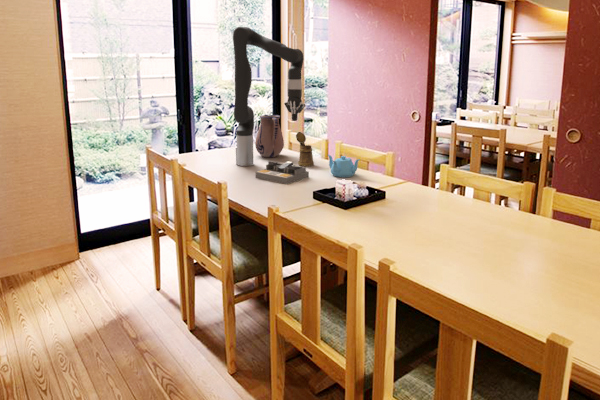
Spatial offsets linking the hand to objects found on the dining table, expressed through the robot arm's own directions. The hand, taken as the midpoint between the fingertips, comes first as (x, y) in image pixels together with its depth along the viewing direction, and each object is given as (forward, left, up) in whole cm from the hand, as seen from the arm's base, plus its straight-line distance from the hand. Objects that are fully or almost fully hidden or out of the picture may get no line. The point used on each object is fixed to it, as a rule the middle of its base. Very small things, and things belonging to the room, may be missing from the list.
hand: (294, 120), depth 277 cm
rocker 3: (+13, -15, -22) cm, 29 cm away
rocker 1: (-1, -15, -22) cm, 26 cm away
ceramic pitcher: (-33, +18, -27) cm, 46 cm away
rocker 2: (+6, -15, -22) cm, 27 cm away
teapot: (+28, +5, -27) cm, 39 cm away
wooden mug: (-4, +14, -27) cm, 31 cm away
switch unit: (+6, -18, -27) cm, 33 cm away
